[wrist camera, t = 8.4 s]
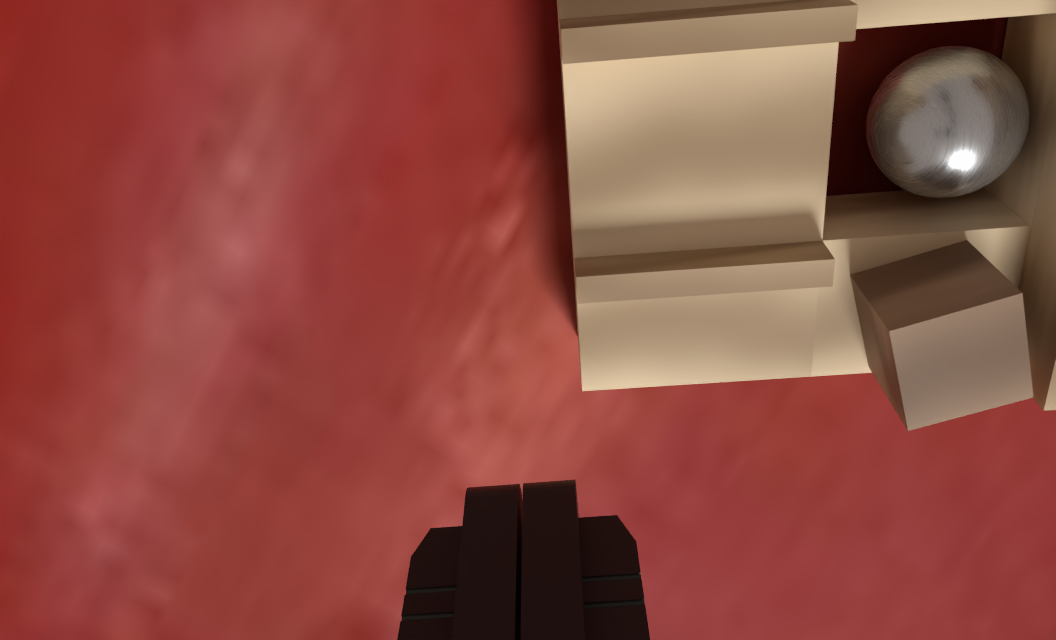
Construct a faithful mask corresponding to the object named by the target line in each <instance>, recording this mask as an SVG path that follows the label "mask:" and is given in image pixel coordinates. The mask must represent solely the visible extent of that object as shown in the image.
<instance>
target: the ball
mask: <svg viewBox="0 0 1056 640" xmlns="http://www.w3.org/2000/svg"><path fill="white" fill-rule="evenodd" d="M1029 120H1030V110H1029V102H1028V98H1027V94H1026V92H1025V89H1024V87H1023V85H1022V83H1021V81H1020V79H1019V78H1018V76H1017V75H1016V74H1015V72H1014V71H1013V70H1012V69H1011V68H1010V67H1009V66H1008V65H1007V64H1006V63H1004V62H1003V61H1002V60H1000V59H999V58H998V57H996V56H994V55H992V54H990V53H988V52H985V51H983V50H980V49H977V48H972V47H966V46H944V47H938V48H933V49H929V50H927V51H924V52H921V53H919V54H916V55H914V56H912V57H910V58H909V59H907V60H905V61H904V62H902V63H901V64H900V65H898V66H897V67H896V68H895V69H894V70H893V71H892V72H891V73H890V74H889V75H888V76H887V77H886V78H885V79H884V80H883V81H882V83H881V84H880V86H879V87H878V89H877V91H876V92H875V94H874V96H873V98H872V100H871V103H870V106H869V109H868V113H867V119H866V138H867V144H868V148H869V151H870V153H871V156H872V158H873V160H874V162H875V164H876V165H877V167H878V168H879V170H880V171H881V172H882V173H883V174H884V175H885V176H886V177H887V178H888V179H889V180H890V181H891V182H893V183H894V184H896V185H897V186H898V187H900V188H902V189H904V190H906V191H909V192H911V193H914V194H917V195H921V196H925V197H934V198H946V197H956V196H961V195H964V194H968V193H971V192H973V191H976V190H978V189H980V188H982V187H984V186H986V185H988V184H990V183H991V182H992V181H994V180H995V179H997V178H998V177H999V176H1000V175H1001V174H1002V173H1003V172H1004V171H1006V170H1007V169H1008V168H1009V166H1010V165H1011V164H1012V163H1013V161H1014V160H1015V159H1016V157H1017V155H1018V154H1019V152H1020V150H1021V149H1022V146H1023V144H1024V142H1025V139H1026V135H1027V132H1028V127H1029Z"/></svg>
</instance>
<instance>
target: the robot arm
mask: <svg viewBox="0 0 1056 640" xmlns="http://www.w3.org/2000/svg"><path fill="white" fill-rule="evenodd" d="M398 640H650V637H649V630H648V622H647V615H646V608H645V603H644V594H643V587H642V580H641V573H640V566H639V559H638V551H637V544H636V541H635V539H634V538H633V537H632V535H631V534H630V533H629V531H628V530H627V528H626V527H625V526H624V524H623V523H622V522H621V520H620V519H619V518H618V516H617V515H612V516H598V517H584V518H579V514H578V503H577V492H576V482H575V480H565V481H551V482H537V483H524V484H523V500H522V493H521V488H520V484H512V485H498V486H484V487H470V488H467V490H466V496H465V506H464V516H463V526H457V527H443V528H431V529H430V530H429V532H428V533H427V535H426V536H425V537H424V539H423V540H422V542H421V543H420V545H419V546H418V548H417V549H416V551H415V552H414V553H413V555H412V556H411V561H410V567H409V573H408V579H407V585H406V595H405V597H404V603H403V609H402V621H401V622H400V628H399V634H398Z"/></svg>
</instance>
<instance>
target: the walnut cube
mask: <svg viewBox="0 0 1056 640" xmlns="http://www.w3.org/2000/svg"><path fill="white" fill-rule="evenodd" d="M850 278H851V283H852V288H853V293H854V298H855V303H856V308H857V312H858V317H859V322H860V327H861V332H862V337H863V342H864V346H865V351H866V356H867V361H868V366H869V368H870V370H871V372H872V373H873V375H874V376H875V378H876V380H877V381H878V383H879V384H880V386H881V388H882V389H883V391H884V393H885V394H886V396H887V397H888V399H889V401H890V402H891V404H892V406H893V407H894V409H895V410H896V412H897V414H898V415H899V417H900V419H901V420H902V422H903V423H904V425H905V427H906V428H907V430H908V431H909V430H913V429H917V428H920V427H924V426H928V425H932V424H935V423H939V422H943V421H947V420H950V419H954V418H958V417H961V416H965V415H969V414H973V413H976V412H980V411H984V410H988V409H991V408H995V407H999V406H1003V405H1006V404H1010V403H1014V402H1017V401H1021V400H1025V399H1029V398H1032V397H1033V388H1032V379H1031V369H1030V360H1029V350H1028V341H1027V331H1026V322H1025V312H1024V303H1023V293H1022V292H1021V291H1020V290H1019V289H1018V288H1017V287H1016V286H1015V285H1014V284H1012V283H1011V282H1010V281H1009V280H1008V279H1007V278H1006V277H1005V276H1004V275H1003V274H1002V273H1001V272H1000V271H999V270H998V269H997V268H996V267H995V266H994V265H993V264H992V263H991V262H990V261H989V260H987V259H986V258H985V257H984V256H983V255H982V254H981V253H980V252H979V251H978V250H977V249H976V248H975V247H974V246H973V245H972V244H971V243H970V242H969V241H968V240H965V241H962V242H958V243H955V244H951V245H948V246H945V247H941V248H938V249H935V250H931V251H928V252H925V253H921V254H918V255H915V256H911V257H908V258H905V259H901V260H898V261H895V262H891V263H888V264H885V265H881V266H878V267H875V268H871V269H868V270H865V271H861V272H858V273H855V274H851V275H850Z"/></svg>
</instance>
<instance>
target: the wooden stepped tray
mask: <svg viewBox="0 0 1056 640" xmlns="http://www.w3.org/2000/svg"><path fill="white" fill-rule="evenodd" d="M557 11H558V27H559V43H560V59H561V75H562V91H563V107H564V124H565V140H566V156H567V172H568V188H569V204H570V220H571V236H572V252H573V268H574V284H575V300H576V316H577V332H578V346H579V357H580V369H581V381H582V391H592V390H607V389H623V388H638V387H654V386H670V385H685V384H701V383H716V382H732V381H748V380H763V379H779V378H794V377H810V376H826V375H841V374H857V373H872V372H871V370H870V368H869V366H868V361H867V356H866V351H865V346H864V342H863V337H862V332H861V327H860V322H859V317H858V312H857V308H856V303H855V298H854V293H853V288H852V283H851V278H850V275H851V274H855V273H858V272H861V271H865V270H868V269H871V268H875V267H878V266H881V265H885V264H888V263H891V262H895V261H898V260H901V259H905V258H908V257H911V256H915V255H918V254H921V253H925V252H928V251H931V250H935V249H938V248H941V247H945V246H948V245H951V244H955V243H958V242H962V241H965V240H968V241H969V242H970V243H971V244H972V245H973V246H974V247H975V248H976V249H977V250H978V251H979V252H980V253H981V254H982V255H983V256H984V257H985V258H986V259H987V260H989V261H990V262H991V263H992V264H993V265H994V266H995V267H996V268H997V269H998V270H999V271H1000V272H1001V273H1002V274H1003V275H1004V276H1005V277H1006V278H1007V279H1008V280H1009V281H1010V282H1011V283H1012V284H1014V285H1015V286H1016V287H1017V288H1018V289H1019V290H1020V291H1021V292H1022V293H1023V303H1024V312H1025V322H1026V331H1027V341H1028V350H1029V360H1030V369H1031V379H1032V388H1033V397H1032V398H1033V399H1034V400H1035V401H1036V402H1037V403H1038V404H1039V406H1040V407H1041V408H1042V409H1043V410H1056V0H557ZM1001 17H1008V22H1007V28H1006V34H1005V40H1004V46H1003V52H1002V58H1001V60H1002V61H1003V62H1004V63H1006V64H1007V65H1008V66H1009V67H1010V68H1011V69H1012V70H1013V71H1014V72H1015V74H1016V75H1017V76H1018V78H1019V79H1020V81H1021V83H1022V85H1023V87H1024V89H1025V92H1026V94H1027V98H1028V102H1029V110H1030V120H1029V127H1028V132H1027V135H1026V139H1025V142H1024V144H1023V146H1022V149H1021V150H1020V152H1019V154H1018V155H1017V157H1016V159H1015V160H1014V161H1013V163H1012V164H1011V165H1010V166H1009V168H1008V169H1007V170H1006V171H1004V172H1003V173H1002V174H1001V175H1000V176H999V177H998V178H997V179H995V180H994V181H992V182H991V183H990V184H988V185H986V186H984V187H982V188H980V189H978V190H976V191H973V192H971V193H968V194H964V195H961V196H956V197H946V198H934V197H925V196H921V195H917V194H914V193H911V192H909V191H906V190H901V191H887V192H873V193H859V194H846V195H832V196H826V190H827V178H828V166H829V154H830V142H831V130H832V118H833V106H834V94H835V82H836V69H837V57H838V45H839V42H846V41H855V36H856V29H864V28H877V27H889V26H902V25H914V24H926V23H939V22H951V21H964V20H976V19H988V18H1001Z"/></svg>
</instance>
